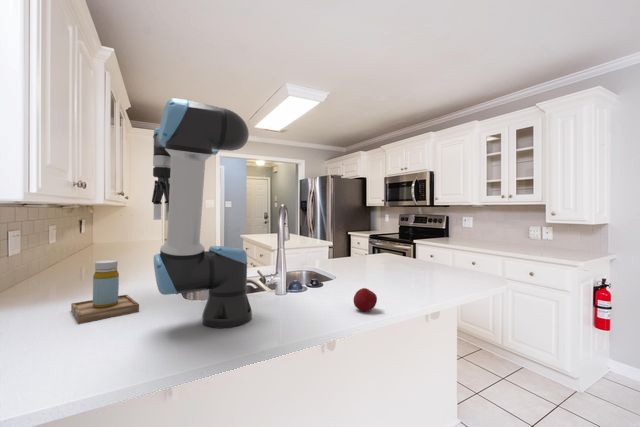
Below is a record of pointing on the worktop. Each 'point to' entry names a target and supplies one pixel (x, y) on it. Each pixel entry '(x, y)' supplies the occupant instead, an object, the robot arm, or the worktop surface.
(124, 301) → the tray
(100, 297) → the bottle
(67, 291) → the worktop surface
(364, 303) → the apple
